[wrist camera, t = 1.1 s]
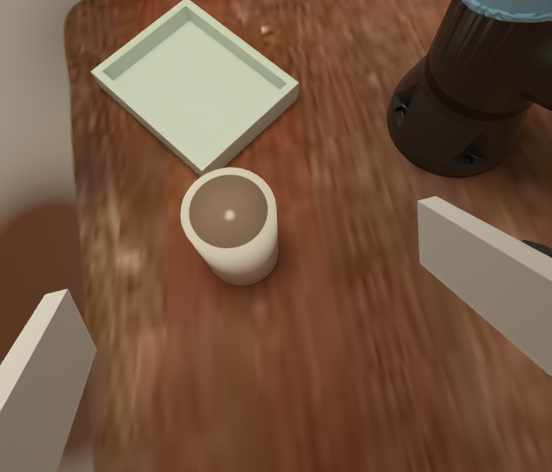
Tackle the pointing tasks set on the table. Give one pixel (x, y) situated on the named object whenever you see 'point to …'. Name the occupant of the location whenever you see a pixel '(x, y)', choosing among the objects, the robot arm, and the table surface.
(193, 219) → the cup
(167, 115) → the tray
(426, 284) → the table surface
